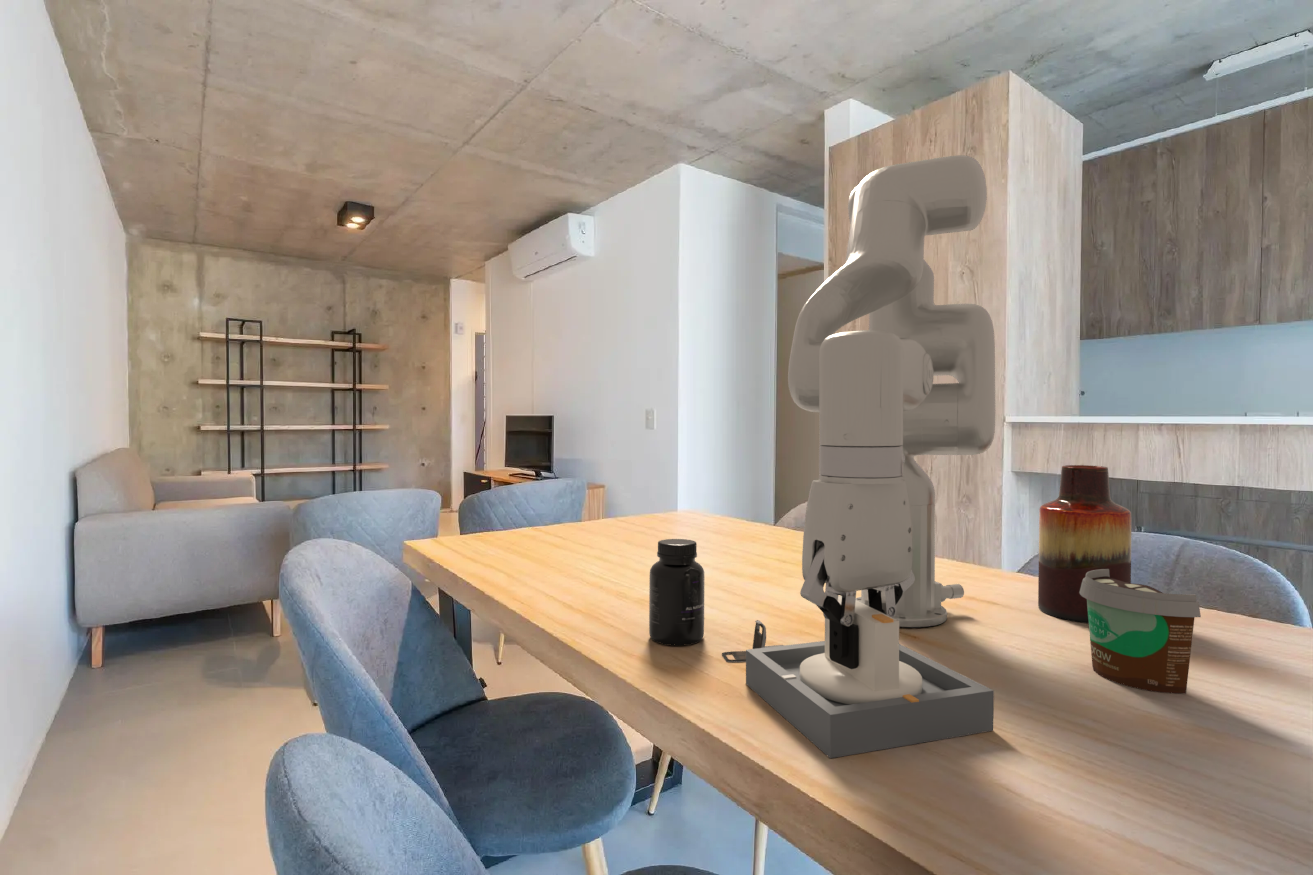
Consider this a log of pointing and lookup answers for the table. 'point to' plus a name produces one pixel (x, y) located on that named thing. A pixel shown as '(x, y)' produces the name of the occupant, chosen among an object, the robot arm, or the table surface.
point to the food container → (1139, 633)
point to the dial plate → (870, 704)
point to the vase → (1080, 540)
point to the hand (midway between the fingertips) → (859, 658)
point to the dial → (864, 664)
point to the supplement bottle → (676, 594)
